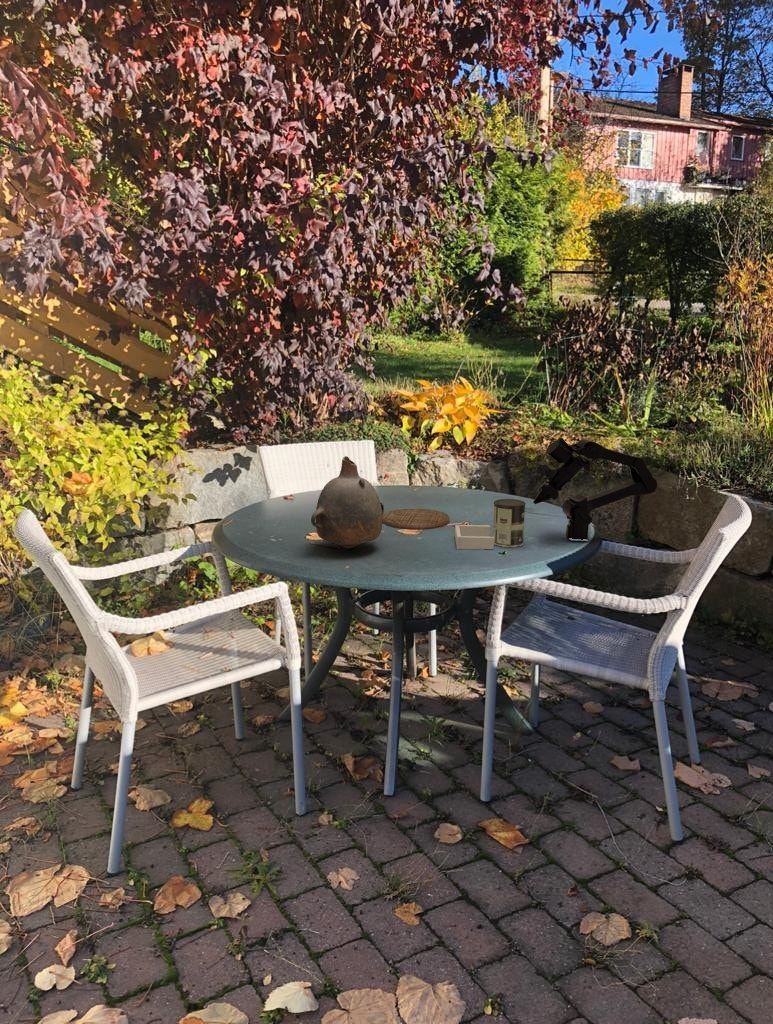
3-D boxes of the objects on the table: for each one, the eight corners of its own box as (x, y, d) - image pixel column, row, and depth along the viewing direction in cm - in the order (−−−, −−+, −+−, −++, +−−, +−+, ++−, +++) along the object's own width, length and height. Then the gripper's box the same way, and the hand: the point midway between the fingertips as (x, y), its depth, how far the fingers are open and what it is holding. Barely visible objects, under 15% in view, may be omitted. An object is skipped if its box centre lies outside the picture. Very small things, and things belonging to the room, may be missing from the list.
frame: (489, 536, 271) (490, 525, 270) (493, 549, 257) (494, 537, 256) (455, 536, 272) (455, 525, 271) (456, 549, 257) (457, 537, 256)
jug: (358, 563, 242) (357, 466, 235) (300, 553, 252) (298, 460, 245) (396, 544, 263) (397, 454, 255) (341, 535, 273) (340, 448, 265)
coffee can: (522, 539, 268) (523, 498, 265) (525, 548, 258) (527, 506, 255) (491, 538, 269) (492, 498, 266) (493, 547, 259) (494, 505, 256)
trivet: (444, 532, 278) (444, 527, 278) (375, 528, 283) (375, 523, 282) (453, 515, 302) (453, 510, 301) (388, 511, 307) (389, 507, 306)
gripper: (552, 449, 272) (519, 481, 277) (548, 458, 254) (513, 492, 260) (575, 472, 271) (542, 503, 277) (573, 483, 254) (538, 516, 259)
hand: (534, 503), depth 268 cm, fingers closed
